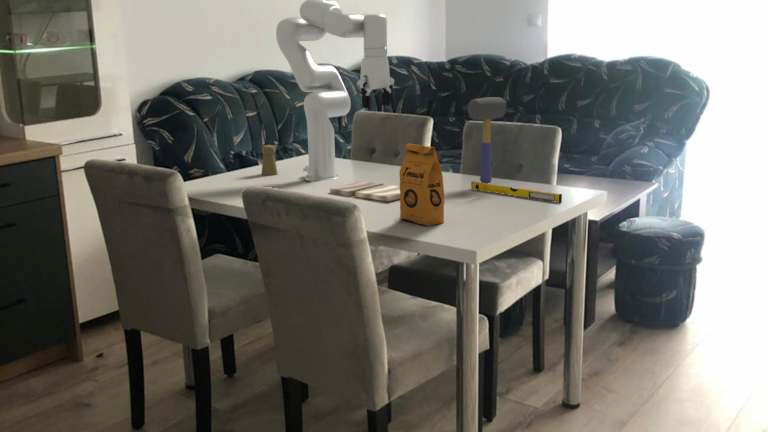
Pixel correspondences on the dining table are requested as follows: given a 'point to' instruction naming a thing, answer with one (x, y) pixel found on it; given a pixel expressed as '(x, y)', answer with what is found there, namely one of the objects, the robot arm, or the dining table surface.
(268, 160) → the cork
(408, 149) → the coffee package
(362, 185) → the floor board
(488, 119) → the rubber mallet
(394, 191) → the ash plank
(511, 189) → the spirit level
